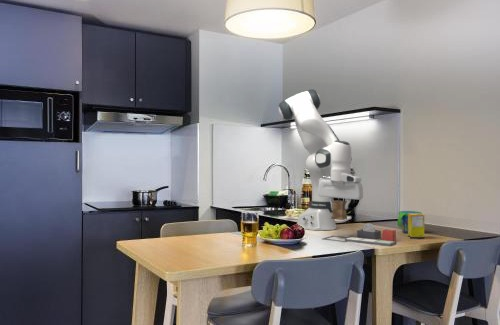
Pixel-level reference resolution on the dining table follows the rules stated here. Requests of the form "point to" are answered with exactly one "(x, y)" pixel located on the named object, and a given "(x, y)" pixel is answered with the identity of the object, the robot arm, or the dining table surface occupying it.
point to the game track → (370, 241)
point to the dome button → (369, 227)
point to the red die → (389, 235)
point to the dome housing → (369, 234)
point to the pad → (335, 240)
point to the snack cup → (404, 220)
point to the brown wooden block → (339, 210)
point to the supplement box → (416, 225)
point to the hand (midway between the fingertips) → (339, 208)
